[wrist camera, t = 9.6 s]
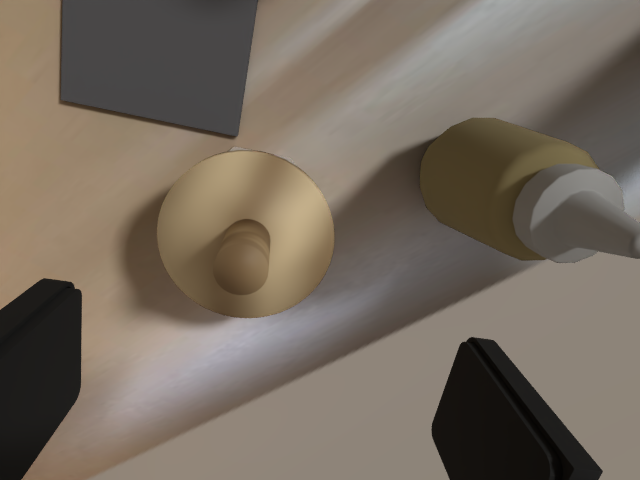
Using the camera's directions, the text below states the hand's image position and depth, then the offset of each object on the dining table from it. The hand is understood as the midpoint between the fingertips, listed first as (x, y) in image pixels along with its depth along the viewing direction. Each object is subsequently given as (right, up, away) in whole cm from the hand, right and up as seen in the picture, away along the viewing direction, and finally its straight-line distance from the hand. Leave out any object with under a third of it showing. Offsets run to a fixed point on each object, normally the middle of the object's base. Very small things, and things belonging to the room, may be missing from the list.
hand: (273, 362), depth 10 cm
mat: (-9, +17, +18) cm, 26 cm away
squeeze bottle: (+12, +9, +23) cm, 27 cm away
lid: (-4, +3, +18) cm, 19 cm away
